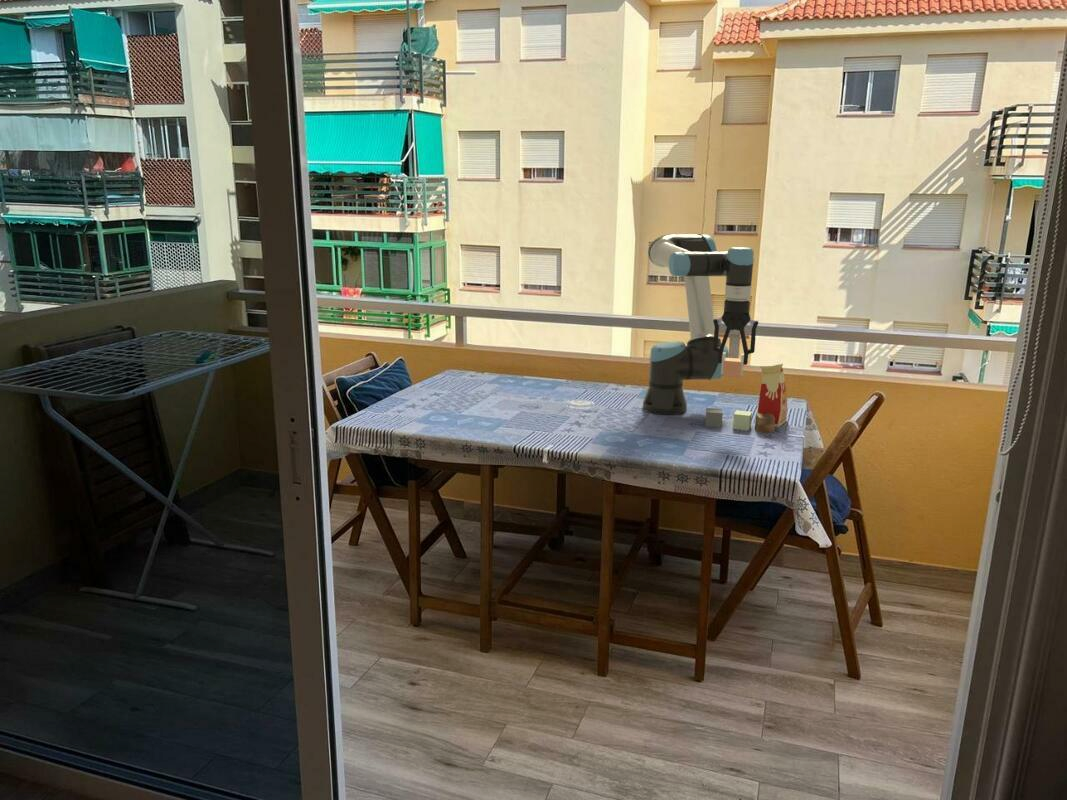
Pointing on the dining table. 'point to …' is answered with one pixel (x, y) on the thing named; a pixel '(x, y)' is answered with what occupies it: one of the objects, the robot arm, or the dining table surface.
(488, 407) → the dining table surface
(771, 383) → the milk carton
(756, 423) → the walnut block
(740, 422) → the sage block
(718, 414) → the grey beige cube
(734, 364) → the terracotta block
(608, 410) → the dining table surface
